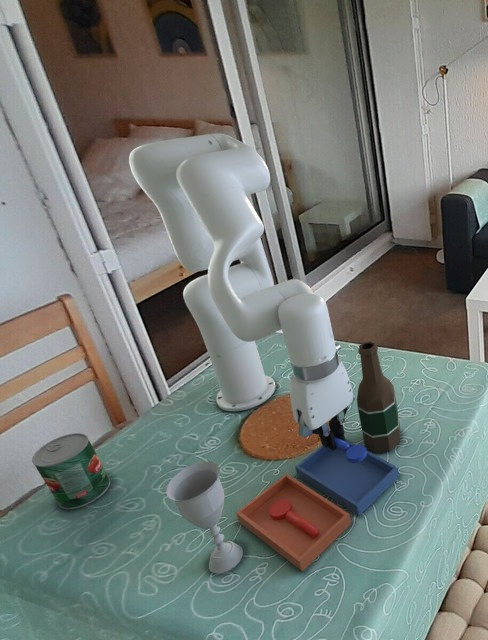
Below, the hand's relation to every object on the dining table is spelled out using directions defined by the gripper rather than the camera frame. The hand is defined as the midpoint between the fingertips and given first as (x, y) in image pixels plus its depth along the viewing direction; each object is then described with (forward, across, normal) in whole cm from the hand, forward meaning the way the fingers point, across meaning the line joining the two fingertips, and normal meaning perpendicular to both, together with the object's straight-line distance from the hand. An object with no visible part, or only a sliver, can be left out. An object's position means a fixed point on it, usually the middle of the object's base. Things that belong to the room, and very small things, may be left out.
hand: (334, 442), depth 94 cm
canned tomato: (+8, +28, -38) cm, 48 cm away
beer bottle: (+8, -10, +1) cm, 13 cm away
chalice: (+8, +22, -2) cm, 24 cm away
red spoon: (+7, +12, +2) cm, 14 cm away
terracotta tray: (+8, +12, +2) cm, 14 cm away
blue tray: (+8, 0, +2) cm, 8 cm away
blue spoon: (0, 0, +2) cm, 2 cm away
